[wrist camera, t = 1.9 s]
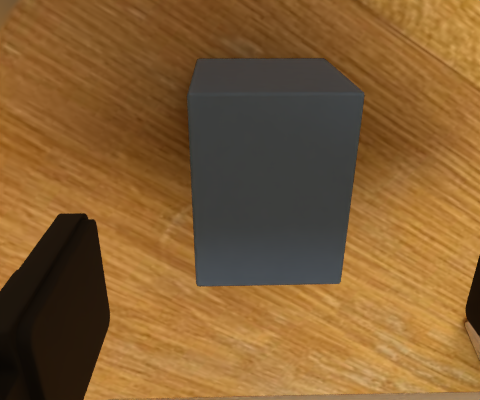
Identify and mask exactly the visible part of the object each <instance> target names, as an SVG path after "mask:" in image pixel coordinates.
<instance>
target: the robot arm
mask: <svg viewBox="0 0 480 400" xmlns="http://www.w3.org/2000/svg"><path fill="white" fill-rule="evenodd" d="M466 317H467V319H468V321H469V323H470V324H471V326H472V327H473V329H474V330H475V331H476V333H477V334H478V336H479V337H480V256H479V260H478V263H477V267H476V271H475V274H474V278H473V282H472V285H471V289H470V293H469V296H468V300H467V304H466ZM109 322H110V310H109V303H108V297H107V290H106V284H105V277H104V271H103V264H102V257H101V251H100V244H99V238H98V231H97V225H96V222H95V220H94V219H90V220H88V217H87V215H86V214H59V215H58V216H57V217H56V219H55V220H54V222H53V223H52V224H51V226H50V227H49V228H48V230H47V231H46V233H45V234H44V235H43V237H42V238H41V239H40V241H39V242H38V243H37V245H36V246H35V248H34V249H33V250H32V252H31V253H30V254H29V256H28V257H27V259H26V260H25V261H24V263H23V264H22V265H21V267H20V268H19V270H17V271H15V272H14V273H13V275H12V276H11V277H10V279H9V280H8V281H7V283H6V284H5V285H4V287H3V288H2V289H1V291H0V400H83V399H84V396H85V393H86V391H87V388H88V385H89V382H90V379H91V376H92V373H93V370H94V367H95V365H96V362H97V359H98V356H99V353H100V350H101V347H102V344H103V341H104V338H105V336H106V333H107V330H108V327H109ZM110 400H480V392H445V393H393V394H338V395H283V396H234V397H193V398H151V399H110Z"/></svg>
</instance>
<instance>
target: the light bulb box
mask: <svg viewBox="0 0 480 400" xmlns="http://www.w3.org/2000/svg"><path fill="white" fill-rule="evenodd" d="M465 327H466V329H467V332H468V334H469V337H470V339H471V342H472V344H473V346H474V348H475V351H476V353H477V355H478V358H479V360H480V337H479V336H478V334H477V333H476V331H475V330H474V329H473V327H472V326H471V324H470V323H469V321H467V322H466V323H465Z"/></svg>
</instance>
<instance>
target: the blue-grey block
mask: <svg viewBox="0 0 480 400" xmlns="http://www.w3.org/2000/svg"><path fill="white" fill-rule="evenodd" d="M364 96H365V95H364V92H363V91H361V90H360V89H359V88H358V87H357V86H356V85H355V84H353V83H352V82H351V81H350V80H349V79H348V78H346V77H345V76H344V75H343V74H342V73H341V72H340V71H338V70H337V69H336V68H335V67H334V66H333V65H331V64H330V63H329V62H328V61H327V60H326V59H324V58H275V59H197V62H196V65H195V69H194V73H193V76H192V80H191V83H190V87H189V91H188V94H187V108H188V128H189V148H190V168H191V188H192V208H193V229H194V249H195V269H196V284H197V286H247V285H301V284H339V283H340V282H341V275H342V267H343V259H344V252H345V244H346V236H347V228H348V220H349V213H350V205H351V197H352V189H353V182H354V174H355V166H356V158H357V151H358V143H359V135H360V127H361V120H362V112H363V104H364Z"/></svg>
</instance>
